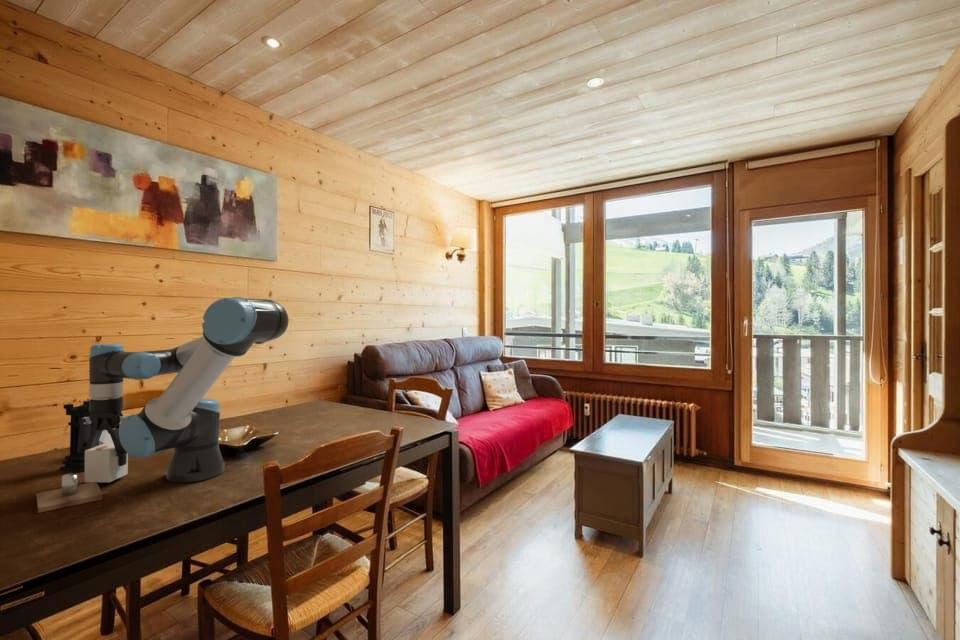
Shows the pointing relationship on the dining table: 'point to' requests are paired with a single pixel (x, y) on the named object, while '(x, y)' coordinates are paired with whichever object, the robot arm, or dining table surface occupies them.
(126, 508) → the dining table surface
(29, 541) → the dining table surface
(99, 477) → the cream white block
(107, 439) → the die
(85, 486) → the hub plate
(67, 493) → the d post
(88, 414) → the chess piece
